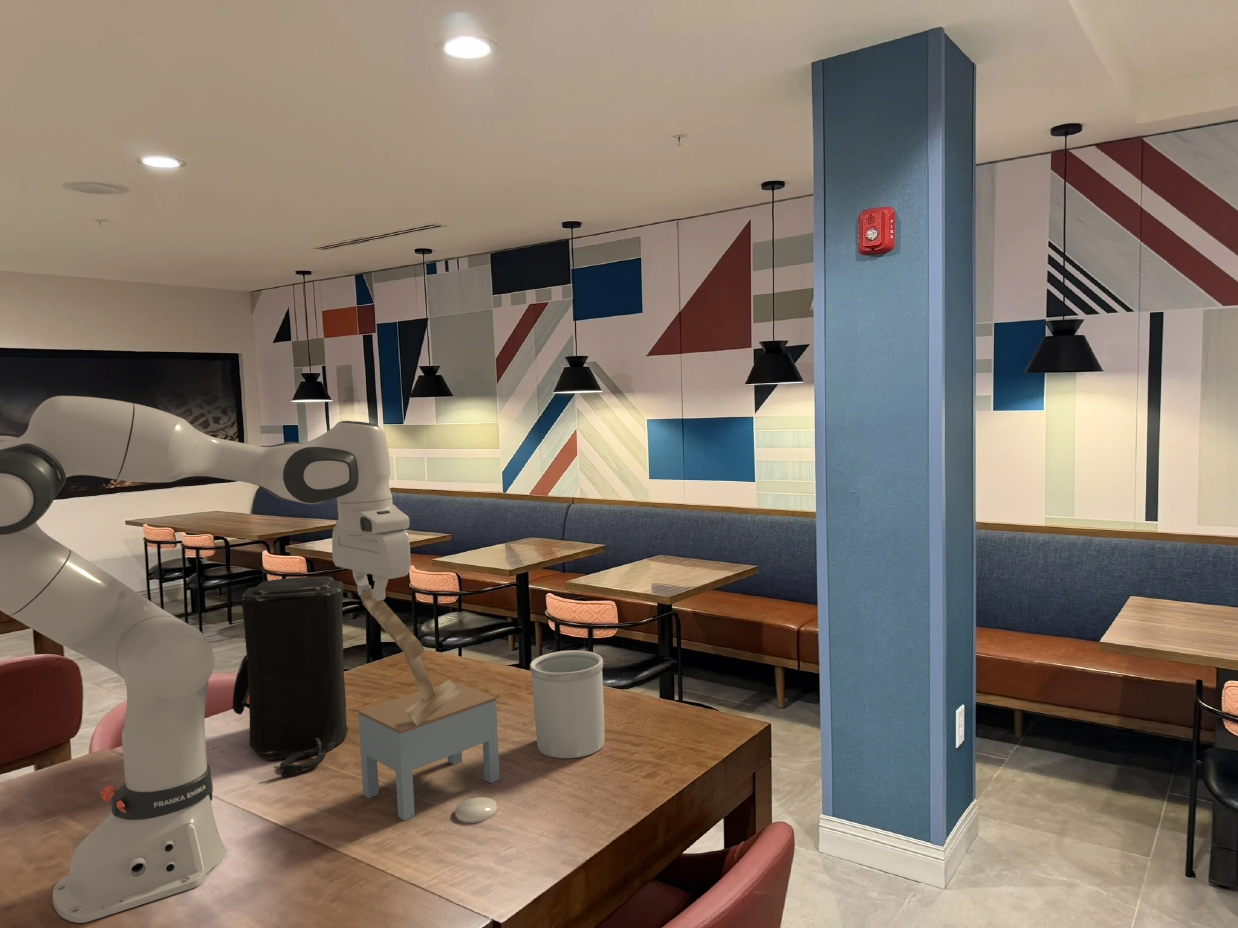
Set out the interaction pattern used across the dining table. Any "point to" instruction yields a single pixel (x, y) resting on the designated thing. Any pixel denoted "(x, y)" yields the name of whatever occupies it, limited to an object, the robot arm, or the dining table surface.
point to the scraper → (412, 662)
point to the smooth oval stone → (476, 810)
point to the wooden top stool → (425, 740)
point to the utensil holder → (568, 703)
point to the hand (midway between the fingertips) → (371, 597)
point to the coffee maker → (293, 669)
